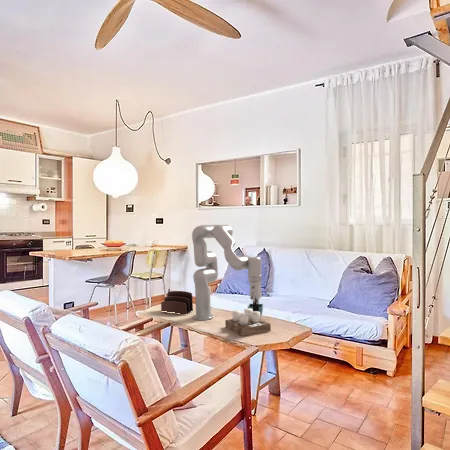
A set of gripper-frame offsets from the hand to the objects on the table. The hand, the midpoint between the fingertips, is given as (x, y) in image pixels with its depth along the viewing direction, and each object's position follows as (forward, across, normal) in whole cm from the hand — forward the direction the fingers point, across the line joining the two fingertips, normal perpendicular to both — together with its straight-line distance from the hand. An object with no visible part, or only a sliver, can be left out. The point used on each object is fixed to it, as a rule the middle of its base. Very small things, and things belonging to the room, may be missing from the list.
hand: (256, 310), depth 198 cm
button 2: (+7, -6, +6) cm, 11 cm away
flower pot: (+11, +18, +4) cm, 22 cm away
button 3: (+7, +6, +6) cm, 11 cm away
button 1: (+7, 0, +12) cm, 13 cm away
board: (+10, -1, +5) cm, 12 cm away
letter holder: (+10, +25, +62) cm, 67 cm away
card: (+6, -6, 0) cm, 9 cm away
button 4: (+7, 0, 0) cm, 7 cm away
